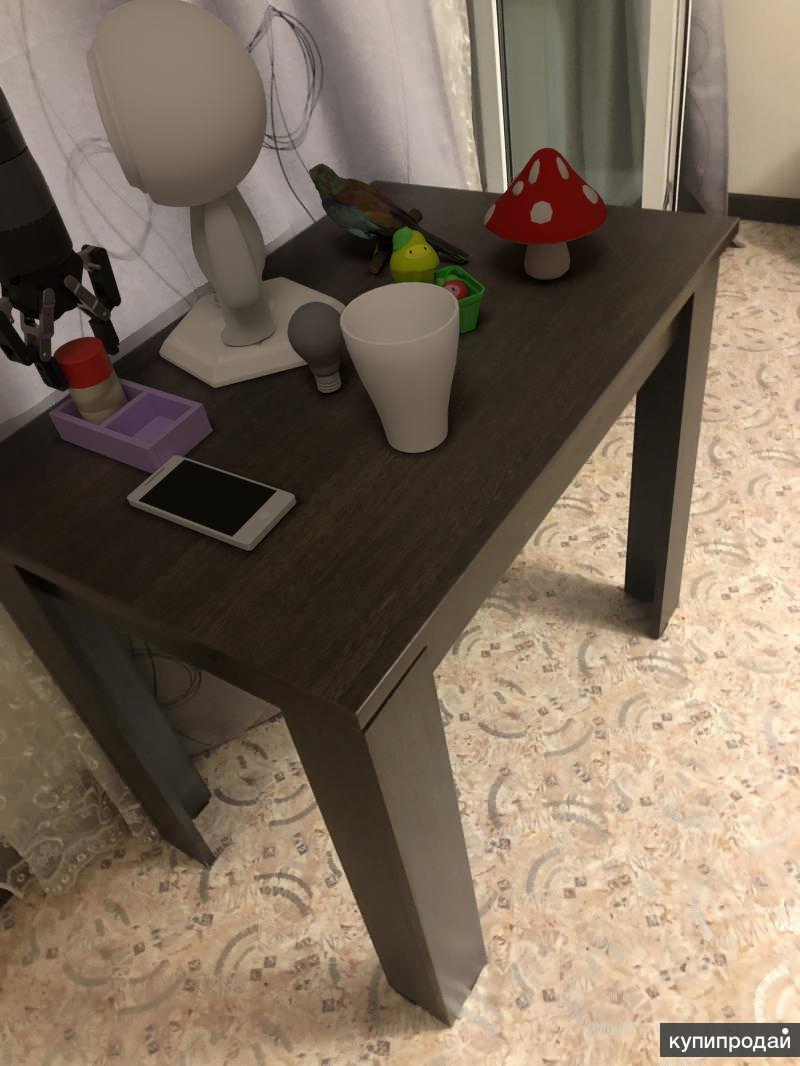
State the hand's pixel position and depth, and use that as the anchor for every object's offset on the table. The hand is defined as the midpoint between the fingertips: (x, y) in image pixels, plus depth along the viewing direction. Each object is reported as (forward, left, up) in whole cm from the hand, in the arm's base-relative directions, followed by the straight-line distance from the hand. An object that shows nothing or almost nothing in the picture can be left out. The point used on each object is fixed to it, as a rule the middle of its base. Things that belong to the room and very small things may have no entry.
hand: (86, 369), depth 83 cm
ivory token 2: (0, 0, -7) cm, 7 cm away
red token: (0, 0, -1) cm, 1 cm away
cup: (+12, -32, -8) cm, 35 cm away
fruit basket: (+29, -23, -8) cm, 38 cm away
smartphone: (-5, -19, -7) cm, 21 cm away
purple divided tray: (0, -4, -7) cm, 8 cm away
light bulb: (+15, -19, -8) cm, 25 cm away
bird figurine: (+43, -9, -8) cm, 44 cm away
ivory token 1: (0, 0, -4) cm, 4 cm away
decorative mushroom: (+45, -30, -8) cm, 54 cm away
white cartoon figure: (+21, -3, -8) cm, 22 cm away
